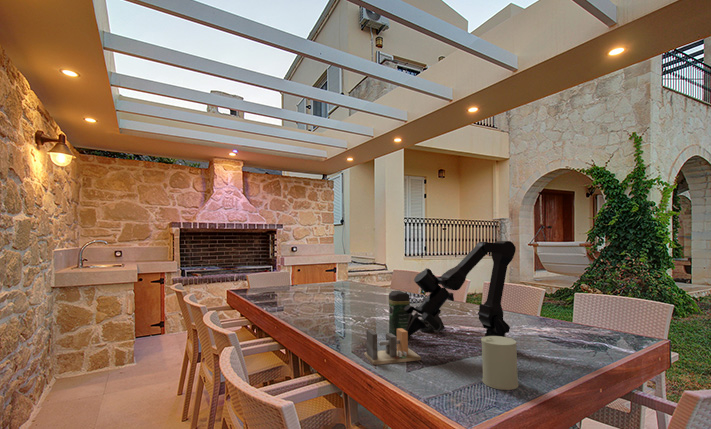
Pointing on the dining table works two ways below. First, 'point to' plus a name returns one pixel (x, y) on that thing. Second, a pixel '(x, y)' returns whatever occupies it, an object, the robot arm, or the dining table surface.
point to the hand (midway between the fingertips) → (405, 336)
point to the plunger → (400, 341)
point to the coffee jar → (398, 311)
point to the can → (499, 362)
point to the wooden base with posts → (391, 350)
